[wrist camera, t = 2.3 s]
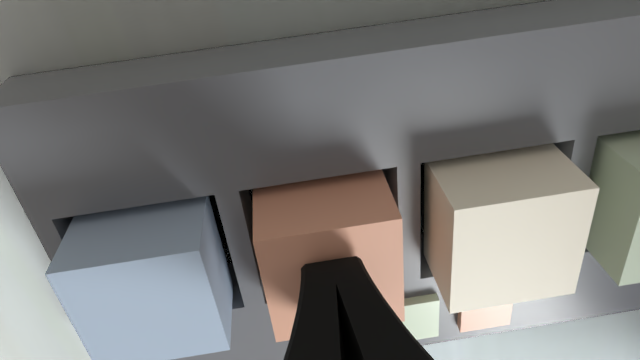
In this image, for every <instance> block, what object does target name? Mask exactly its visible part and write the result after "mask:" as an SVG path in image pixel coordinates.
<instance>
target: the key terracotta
mask: <svg viewBox="0 0 640 360" xmlns="http://www.w3.org/2000/svg"><path fill="white" fill-rule="evenodd" d="M253 245H254V250H255V254H256V258H257V262H258V267H259V271H260V275H261V280H262V284H263V288H264V292H265V297H266V301H267V305H268V309H269V314H270V318H271V322H272V327H273V331H274V335H275V339H276V342H282V341H288V340H290V336H291V332H292V327H293V323H294V319H295V315H296V310H297V305H298V299H299V293H300V284H301V268H302V267H303V266H304V265H305V264H308V263H315V262H321V261H327V260H333V259H340V258H346V257H352V256H357V257H359V258H360V259H361V260H362V262H363V264H364V266H365V268H366V270H367V272H368V273H369V275H370V277H371V278H372V280H373V282H374V283H375V285H376V286H377V288H378V289H379V291H380V292H381V294H382V296H383V297H384V298H385V300H386V301H387V303H388V304H389V305H390V307H391V308H392V309H393V311H394V312H395V313H396V315H397V316H398V317H399V319H400V320H401V321H402V322H404V321H405V309H404V266H403V223H402V217H401V214H400V212H399V209H398V207H397V205H396V202H395V200H394V197H393V195H392V193H391V190H390V188H389V185H388V183H387V181H386V178H385V176H384V173H383V171H382V169H380V170H373V171H367V172H360V173H354V174H347V175H341V176H334V177H328V178H321V179H314V180H308V181H301V182H295V183H288V184H282V185H275V186H268V187H262V188H255V189H253Z"/></svg>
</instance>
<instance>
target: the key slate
mask: <svg viewBox="0 0 640 360" xmlns="http://www.w3.org/2000/svg"><path fill="white" fill-rule="evenodd" d="M45 276H46V277H47V279H48V281H49V283H50V285H51V287H52V288H53V290H54V292H55V294H56V296H57V297H58V299H59V301H60V303H61V305H62V307H63V308H64V310H65V312H66V314H67V316H68V317H69V319H70V321H71V323H72V325H73V327H74V328H75V330H76V332H77V334H78V336H79V337H80V339H81V341H82V343H83V345H84V347H85V348H86V350H87V352H88V354H89V356H90V357H91V359H92V360H172V359H178V358H184V357H190V356H196V355H202V354H208V353H215V352H221V351H227V350H230V344H231V321H232V298H233V282H232V279H231V275H230V271H229V268H228V264H227V261H226V257H225V253H224V250H223V246H222V243H221V239H220V235H219V232H218V228H217V225H216V221H215V217H214V214H213V210H212V207H211V203H210V199H209V196H203V197H196V198H190V199H183V200H177V201H170V202H164V203H157V204H150V205H144V206H137V207H131V208H124V209H118V210H111V211H104V212H98V213H91V214H85V215H78V216H74V217H73V219H72V221H71V223H70V225H69V227H68V229H67V231H66V233H65V235H64V237H63V239H62V241H61V243H60V245H59V247H58V249H57V251H56V253H55V255H54V257H53V259H52V261H51V263H50V265H49V267H48V269H47V271H46V273H45Z"/></svg>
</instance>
